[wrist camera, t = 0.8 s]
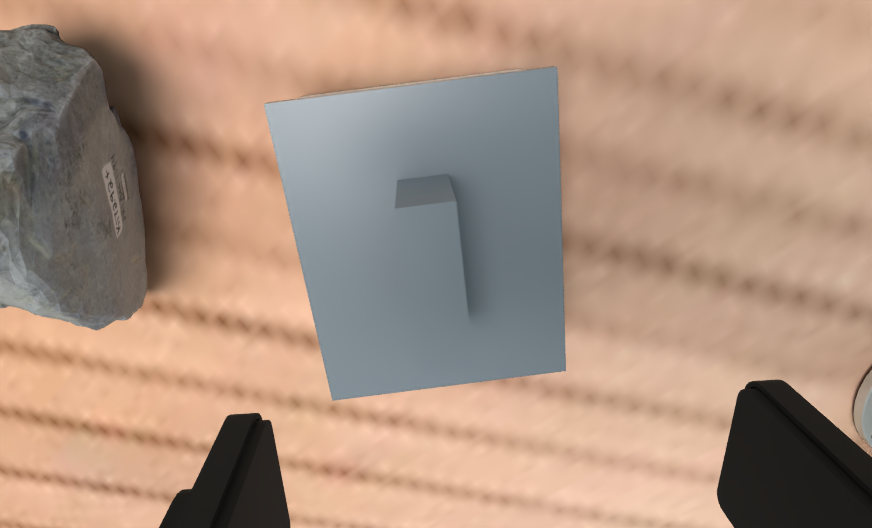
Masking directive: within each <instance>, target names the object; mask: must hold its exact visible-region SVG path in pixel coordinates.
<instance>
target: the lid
mask: <svg viewBox="0 0 872 528" xmlns="http://www.w3.org/2000/svg"><path fill="white" fill-rule="evenodd" d="M264 107H265V111H266V115H267V120H268V124H269V128H270V133H271V137H272V141H273V146H274V150H275V154H276V159H277V163H278V167H279V172H280V176H281V180H282V185H283V189H284V193H285V197H286V202H287V206H288V210H289V215H290V219H291V223H292V228H293V232H294V236H295V241H296V245H297V249H298V254H299V258H300V262H301V267H302V271H303V275H304V280H305V284H306V288H307V293H308V297H309V301H310V306H311V310H312V314H313V318H314V323H315V327H316V331H317V336H318V340H319V344H320V349H321V353H322V357H323V362H324V366H325V370H326V375H327V379H328V383H329V388H330V392H331V396H332V401H333V400H341V399H349V398H357V397H365V396H373V395H380V394H388V393H396V392H404V391H412V390H420V389H427V388H435V387H443V386H451V385H459V384H467V383H475V382H482V381H490V380H498V379H506V378H514V377H522V376H529V375H537V374H545V373H553V372H561V371H566V357H565V322H564V286H563V251H562V216H561V180H560V145H559V109H558V74H557V67H554V66H552V67H544V68H536V69H528V70H520V71H512V72H504V73H496V74H488V75H480V76H473V77H465V78H457V79H449V80H441V81H433V82H425V83H417V84H409V85H402V86H394V87H386V88H378V89H370V90H362V91H354V92H346V93H338V94H331V95H323V96H315V97H307V98H299V99H291V100H283V101H275V102H268V103H265V104H264Z"/></svg>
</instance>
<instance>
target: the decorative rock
mask: <svg viewBox="0 0 872 528" xmlns="http://www.w3.org/2000/svg"><path fill="white" fill-rule="evenodd" d="M145 253H146V250H145V228H144V220H143V211H142V203H141V197H140V195H139V186H138V178H137V165H136V160H135V155H134V150H133V146H132V143H131V141H130V139H129V136H128V135H127V133H126V132H125V129H124V128H123V127H122V126H121V123H120V118H119V115H118V113H117V111H116V109H115V107H114V106H113V107H110V108H109V104H108V99H107V91H106V85H105V81H104V75H103V71H102V69H101V67H100V66H99V64H98V63H97V61H96V60H95V59H94V57H93V56H92V55H91V54H90V53H89V52H87V51H86V50H85V49H83V48H81V47H78V46H73V45H69V44H67V43H65V42H64V41H63V40H61V39H60V37H59V31H58V30H57V29H56V28H55V27H54V26H50V25H37V24H31V25H27V26H22V27H19V28H16V29H12V30H0V308H6V307H8V306H11V307H16V308H21V309H24V310H27V311H29V312H31V313H33V314H35V315H40V316H42V317H48V318H54V319H60V320H63V321H66V322H71V323H72V324H74V325H76V326H82V327H88V328H91V329H93V330H99V329H101V328H104V327H105V326H107V325H109V324H110V323H112V322H113V321H115V320H127V319H129V318H131V316H132V315H133V313H135V312H136V311H137V310H138V309H139V308H141V306H142V304H143V301H144V298H145V294H146V289H147V279H148V277H147V268H146V263H145Z"/></svg>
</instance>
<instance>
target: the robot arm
mask: <svg viewBox="0 0 872 528" xmlns="http://www.w3.org/2000/svg"><path fill="white" fill-rule="evenodd" d="M853 415H854V422H855V426H856V429H857V431H858V433H859V435H860V436H861V438H862V439H863V440H864V441H865V442H866V443H867V444H868V445H869V446H870V447H872V369H871V371H870V372H869V373H868V375H867V376H866V378H865V379H864V381H863V383H862V385H861V387H860V388H859V391H858V394H857V397H856V400H855V405H854V414H853ZM717 497H718V501H719V504H720V507H721V509H722V510H723V512H724V513H725V515H726V516H727V518H728V519H729V521H730V522H731V524H732V525H733V526H734V528H872V457H871V456H869V455H868V454H867V453H866V452H865V451H864V450H863V449H861V448H860V447H859V446H858V445H857V444H856V443H855V442H853V441H852V440H851V439H850V438H849V437H848V436H847V435H845V434H844V433H843V432H842V431H841V430H840V429H839V428H837V427H836V426H835V425H834V424H833V423H832V422H831V421H829V420H828V419H827V418H826V417H825V416H824V415H823V414H822V413H820V412H819V411H818V410H817V409H816V408H815V407H814V406H812V405H811V404H810V403H809V402H808V401H807V400H806V399H804V398H803V397H802V396H801V395H800V394H799V393H798V392H796V391H795V390H794V389H793V388H792V387H791V386H790V385H788V384H787V383H786V382H784V381H783V380H764V381H752V382H749V383H748V384H747V385H746V387H745V389H743V390H741V391H740V392H739V394H738V397H737V401H736V406H735V410H734V415H733V420H732V424H731V429H730V433H729V438H728V443H727V447H726V452H725V456H724V461H723V466H722V470H721V475H720V479H719V484H718V488H717ZM159 528H290V519H289V513H288V508H287V503H286V497H285V492H284V487H283V481H282V476H281V471H280V466H279V460H278V455H277V450H276V444H275V439H274V434H273V428H272V424H271V422H270V420H262V417H261V415H260V414H259V413H250V414H234V415H229V416H227V418H226V419H225V421H224V423H223V425H222V427H221V430H220V432H219V434H218V436H217V438H216V440H215V442H214V444H213V446H212V448H211V450H210V453H209V455H208V457H207V459H206V461H205V463H204V465H203V467H202V469H201V471H200V473H199V476H198V478H197V480H196V482H195V484H194V486H193V488H192V489H186V490H181V491H180V492H179V493H177V495H176V497H175V498H174V500H173V501H172V503H171V505H170V507H169V509H168V511H167V513H166V515H165V517H164V519H163V521H162V523H161V525H160V527H159Z"/></svg>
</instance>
